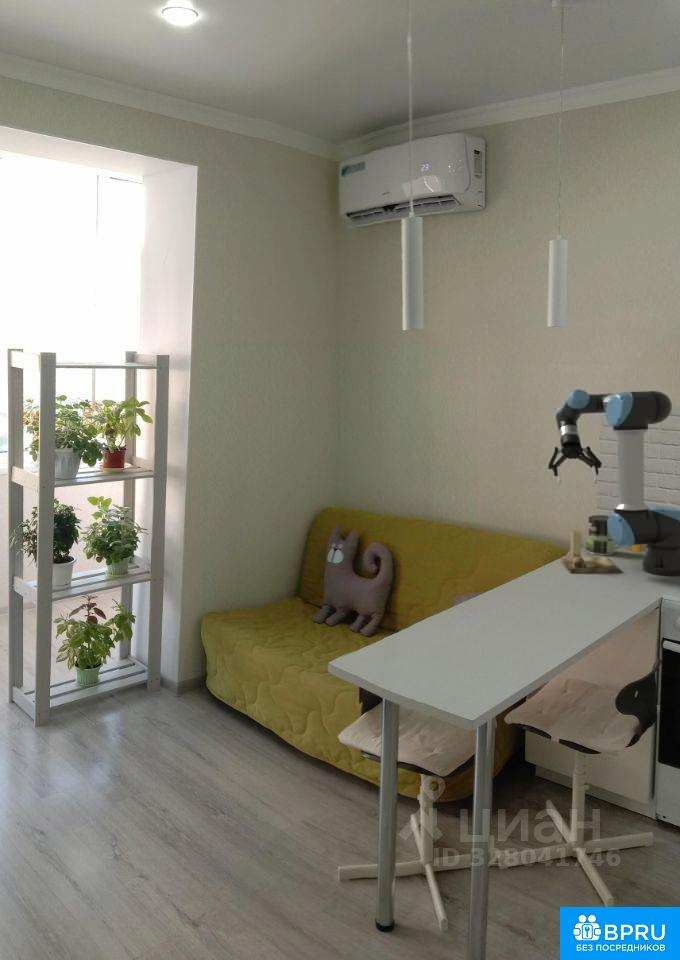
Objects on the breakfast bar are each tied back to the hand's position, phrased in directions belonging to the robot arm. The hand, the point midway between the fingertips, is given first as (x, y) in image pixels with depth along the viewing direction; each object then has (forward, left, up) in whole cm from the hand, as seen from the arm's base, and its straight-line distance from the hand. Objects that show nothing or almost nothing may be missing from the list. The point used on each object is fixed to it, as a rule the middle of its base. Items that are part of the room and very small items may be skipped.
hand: (577, 481), depth 313 cm
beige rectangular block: (+7, +15, -28) cm, 32 cm away
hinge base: (+1, +16, -30) cm, 34 cm away
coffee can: (-12, -5, -30) cm, 33 cm away
